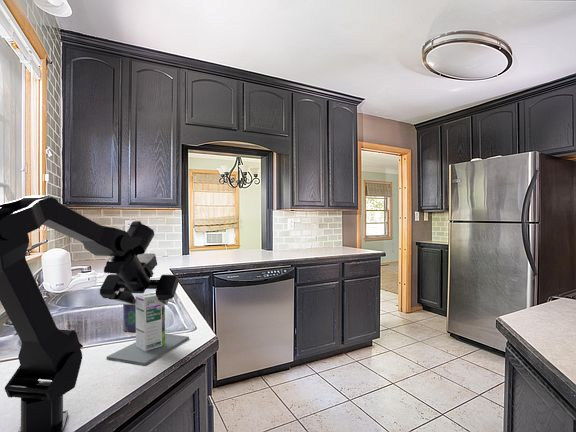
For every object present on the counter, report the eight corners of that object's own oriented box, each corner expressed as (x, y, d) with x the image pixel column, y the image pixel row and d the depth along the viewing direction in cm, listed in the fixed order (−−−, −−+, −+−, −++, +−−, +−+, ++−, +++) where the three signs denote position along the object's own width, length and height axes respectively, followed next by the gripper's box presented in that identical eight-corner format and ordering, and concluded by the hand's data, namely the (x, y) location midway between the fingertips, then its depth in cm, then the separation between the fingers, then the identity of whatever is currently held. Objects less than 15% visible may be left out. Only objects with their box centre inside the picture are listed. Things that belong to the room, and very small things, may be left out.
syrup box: (144, 352, 83) (144, 297, 83) (135, 346, 87) (135, 293, 87) (165, 345, 87) (165, 293, 88) (155, 340, 91) (155, 290, 91)
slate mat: (144, 365, 77) (144, 363, 77) (106, 359, 81) (106, 356, 81) (188, 338, 94) (188, 336, 94) (155, 334, 98) (155, 332, 98)
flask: (121, 332, 100) (121, 298, 100) (127, 328, 103) (128, 295, 103) (146, 334, 98) (146, 300, 98) (152, 331, 101) (152, 297, 101)
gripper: (176, 244, 82) (191, 278, 93) (106, 244, 83) (129, 278, 94) (163, 280, 74) (180, 313, 85) (85, 279, 75) (113, 312, 86)
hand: (150, 303), depth 87 cm, fingers open, 9 cm apart
